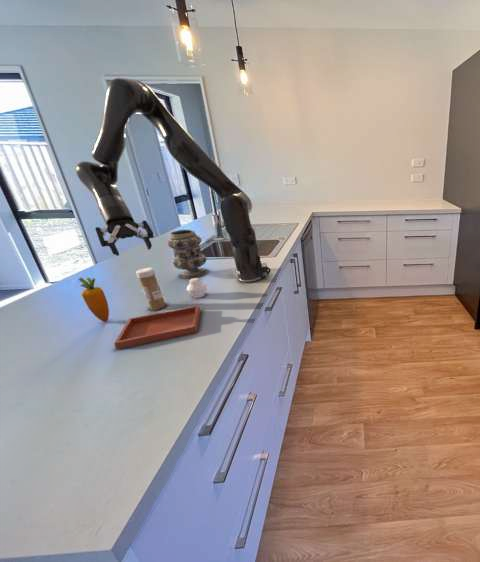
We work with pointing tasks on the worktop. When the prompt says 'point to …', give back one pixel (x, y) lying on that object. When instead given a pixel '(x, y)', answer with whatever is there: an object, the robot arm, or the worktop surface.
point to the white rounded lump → (196, 288)
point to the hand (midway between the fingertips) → (134, 251)
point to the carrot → (95, 299)
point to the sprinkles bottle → (151, 288)
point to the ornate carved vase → (187, 253)
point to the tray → (158, 327)
